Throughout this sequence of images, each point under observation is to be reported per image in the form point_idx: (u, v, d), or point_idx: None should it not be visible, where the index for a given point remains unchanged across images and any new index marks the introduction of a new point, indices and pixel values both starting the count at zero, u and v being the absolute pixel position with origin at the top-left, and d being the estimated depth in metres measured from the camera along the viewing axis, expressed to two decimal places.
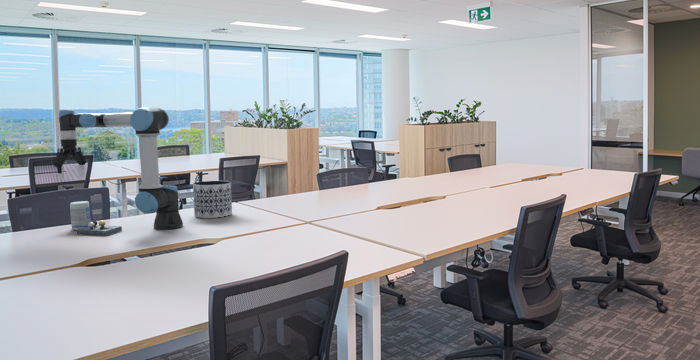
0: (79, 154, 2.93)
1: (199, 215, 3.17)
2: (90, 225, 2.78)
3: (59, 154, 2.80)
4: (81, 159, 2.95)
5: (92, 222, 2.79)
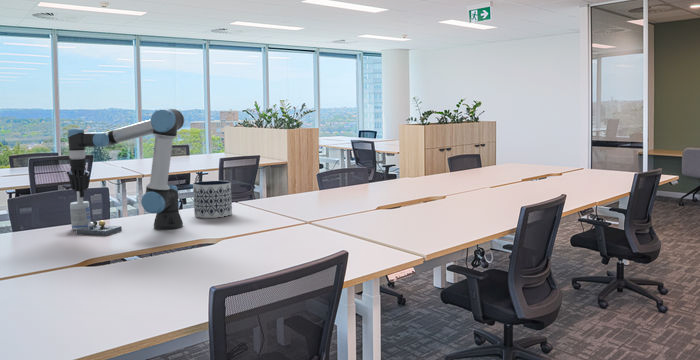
0: None
1: (199, 215, 3.17)
2: (90, 225, 2.78)
3: None
4: None
5: (92, 222, 2.79)
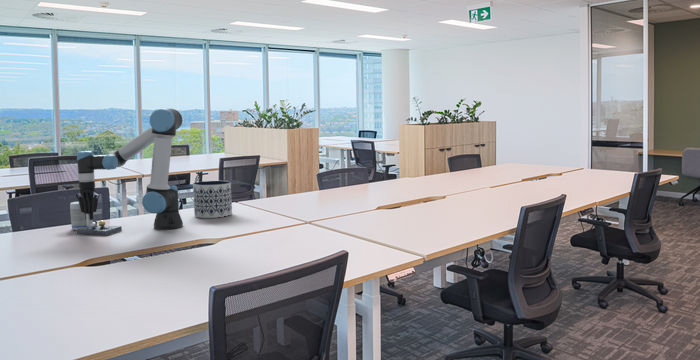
0: None
1: (199, 215, 3.17)
2: (92, 226, 2.77)
3: None
4: None
5: (96, 224, 2.79)
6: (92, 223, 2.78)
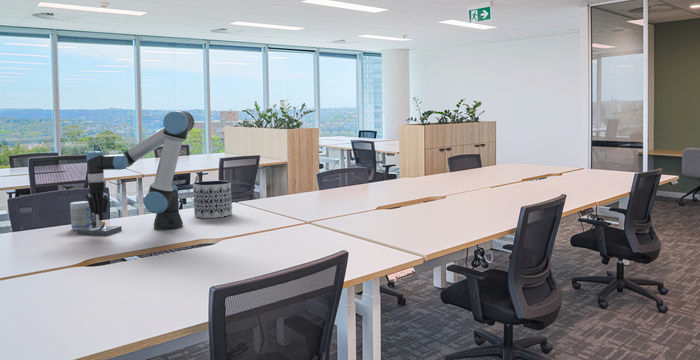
0: None
1: (199, 215, 3.17)
2: (103, 229, 2.76)
3: None
4: None
5: None
6: None
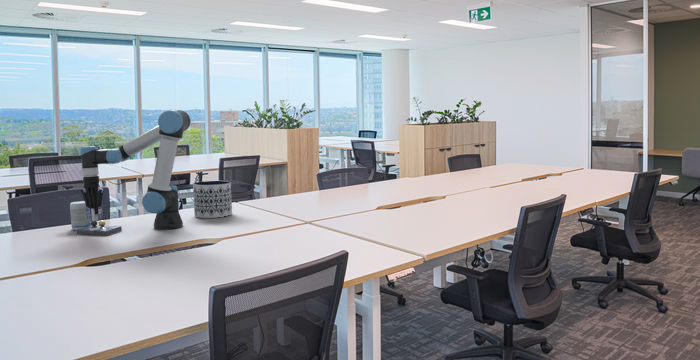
0: None
1: (199, 215, 3.17)
2: (101, 229, 2.76)
3: None
4: None
5: None
6: None
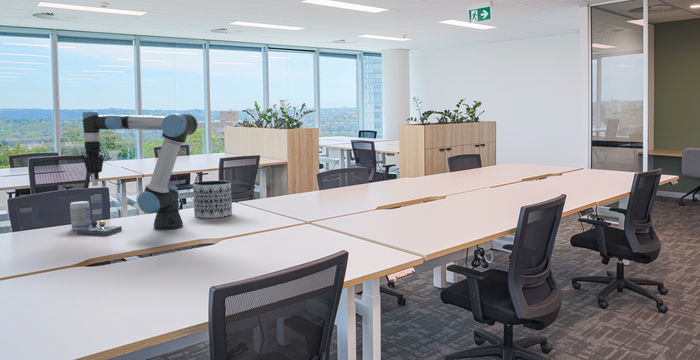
0: None
1: (199, 215, 3.17)
2: (100, 229, 2.76)
3: None
4: None
5: None
6: None
